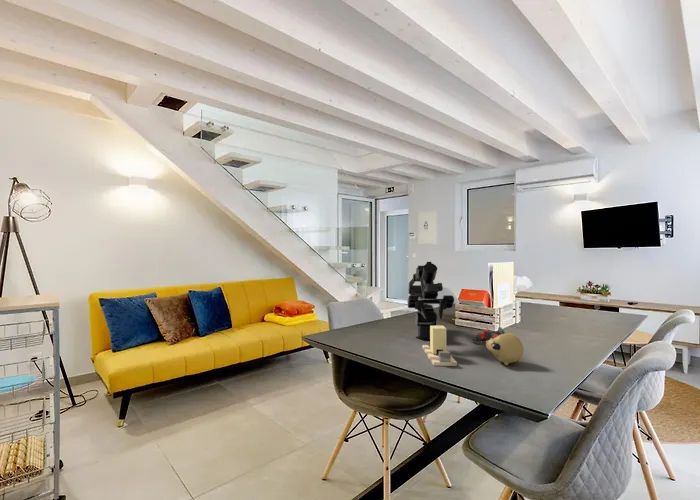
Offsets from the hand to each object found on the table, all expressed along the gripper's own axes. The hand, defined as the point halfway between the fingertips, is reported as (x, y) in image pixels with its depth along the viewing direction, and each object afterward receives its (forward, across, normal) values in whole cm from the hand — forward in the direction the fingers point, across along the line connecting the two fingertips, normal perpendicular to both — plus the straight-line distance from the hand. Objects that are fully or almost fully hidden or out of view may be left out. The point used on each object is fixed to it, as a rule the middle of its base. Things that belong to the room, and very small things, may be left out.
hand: (433, 318), depth 138 cm
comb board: (+15, 0, +3) cm, 15 cm away
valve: (+4, +26, +15) cm, 30 cm away
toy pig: (+20, +22, -2) cm, 30 cm away
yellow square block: (+14, 0, +2) cm, 14 cm away
